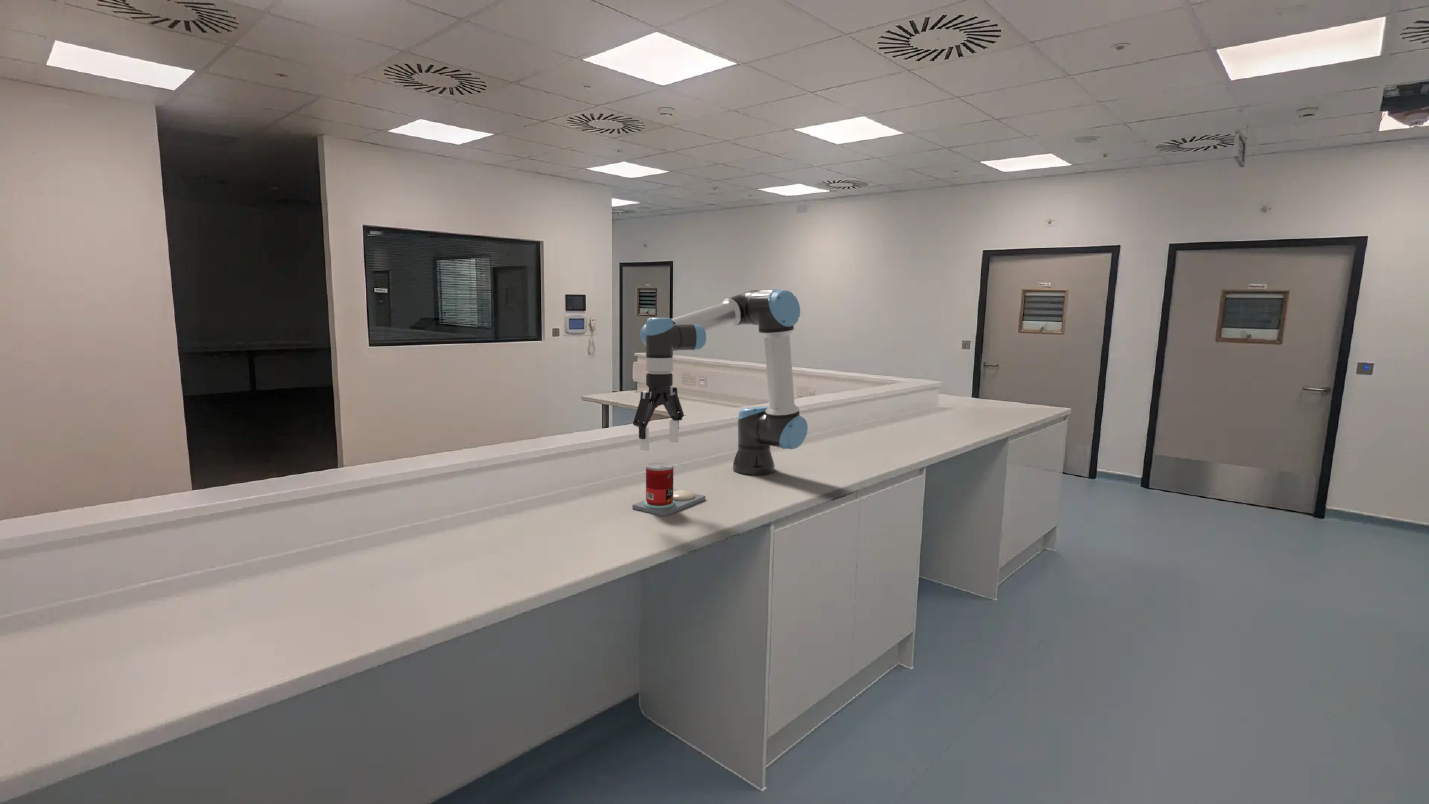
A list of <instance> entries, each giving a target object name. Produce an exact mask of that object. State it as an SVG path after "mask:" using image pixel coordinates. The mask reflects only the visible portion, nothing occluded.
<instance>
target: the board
mask: <svg viewBox="0 0 1429 804" xmlns="http://www.w3.org/2000/svg"><path fill="white" fill-rule="evenodd" d="M706 497H707V496H706V495H704V494H703V495H702V494H697V493H694V492H693V491H691V490H682V489H681V490H680V489H679V490H678V489H673V500H674V501H675V505H674V506H673V507H670V508H665V509H652V508H648V507H645V506H644V501H646V499H645V500H641V501H638V502H637V503H634V504H632V508H631V509H633V510H636V511H639V512H645V513H649V514H653V515H658V516H662V517H667V516H670V515H673V514H674V513H676V512H679V511H681V510H684V509H686V508H687V509H688V508H690V507H691V506H693V505H696V504H698V503H701V502H703V501H706Z"/></svg>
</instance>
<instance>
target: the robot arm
mask: <svg viewBox="0 0 1429 804" xmlns="http://www.w3.org/2000/svg"><path fill="white" fill-rule="evenodd" d="M800 315H801V307H800V302H799V300H798V298H797V297H796V296H795V295H794V293H793V292H792V291H789V290H787V289H785V290H784V289H777V288H776V289H763V290H762V289H754V290H749V291H745V292H742V293H738V294H736V295H734V296H730V297H727V298H725V299H723V300H722V301H721V303H718V304H716V305H715V304H714V305H711V306H709V307H705V308H703V309H699V310H696V311H694V312H693V311H692V312H689V313H686V314H683V315H680V316H677V317H674V318H671V317H649V318H647V320H646V323H645V324H644V325H643V326H642V328H641V329H640V333H639V334H640V340H641V343H642V344H643V345H644V346H645V356H646V357H645V358H646V361H645V363H646V365H645V367H646V368H645V369H646V370H645V371H647V373H646V375H645V385H646V386H647V387H648V391H644V390H642V391H640V398H639V401H638V402H639V403H638V406H637V409H636V411H635V416H634V418H633V422H632V425H633V426H635V427H636V428H638V439H639V450H640V451H644V452H645V451H647V452H648V451H650V428H649V427H648V425H649V423H650V420H651V418H652V416H653V415H654V412H655V410H656V409H657V408H658V407H659V406H663V407H664V409H665V410H666V412H667V414H668V415H669V417H670V419H669V443H675V444H676V443H677V444H678V443H679V429H680V427H679V426H680V421H683V418H684V415H685V414H684V411H683V408H682V405H681V402H680V401H681V400H680V399H679V395H678V388H677V387H676V386H675V387H673V385H674V384H673V380H674V379H673V378H674V375H673V373H672V372H673V371H674V366H673V365H674V364H673V363H674V361H673V360H674V359H673V358H674V357H673V356H674V353H673V352H675V351H697V350H700V349H702V348H704V347H705V345H706V342H707V333H709V332H712V331H716V330H718V329H720V328H723V327H724V328H725V327H726V326H728V327H730V328H731V327H736V326H740V325H754V326H755V325H756V326H758V333H759V334H760V335H761V336H762V337H763V341H764V355H765V366H766V380H767V392H768V406H754V407H744V408H741V409H740V410H739V412H738V418H737V438H738V439H737V450H736V454H735V456H734V459H733V462H732V470H733V471H734V472H735V473H738V474H742V475H751V476H752V475H753V476H761V475H768V474H771V473H774V472H775V463H774V462H775V461H774V457H773V454H772V451H771V447H776V448H780V449H783V450H796V449H797V448H799V447H800V446H802V444H803V443H804V441H805V439H806V437H807V434H808V429H809V428H808V421H807V420H806V418H805V417H803V416H801V414H800V407H799V406H797V404H795V395H794V392H795V391H794V379H793V377H794V376H793V364H792V363H793V361H792V348H791V347H792V346H791V337H790V336H791V334H792V332H793V331H795V328H794V327H795V325H796V324H797V323H798V322H799V318H800Z"/></svg>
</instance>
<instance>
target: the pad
mask: <svg viewBox="0 0 1429 804" xmlns="http://www.w3.org/2000/svg"><path fill="white" fill-rule="evenodd" d="M643 501H644V500H643ZM674 505H675V501H674V500H673V502H672V503H671V504H669V505H664V506H655V505H650V504H648V503H647V501H644V506H645V507H648V508H652V509H665V508H670V507H673V506H674Z"/></svg>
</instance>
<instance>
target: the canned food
mask: <svg viewBox="0 0 1429 804" xmlns="http://www.w3.org/2000/svg"><path fill="white" fill-rule="evenodd" d="M674 473H675V471H674V464H672V463H669V462H651V463H648V464H646V465H645V500H646V501H647V503H648V504H650V505H655V506H664V505H669V504H671V503H672V502H673V490H674Z"/></svg>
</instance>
